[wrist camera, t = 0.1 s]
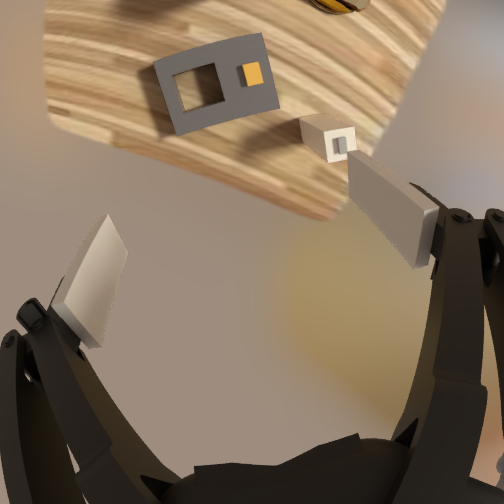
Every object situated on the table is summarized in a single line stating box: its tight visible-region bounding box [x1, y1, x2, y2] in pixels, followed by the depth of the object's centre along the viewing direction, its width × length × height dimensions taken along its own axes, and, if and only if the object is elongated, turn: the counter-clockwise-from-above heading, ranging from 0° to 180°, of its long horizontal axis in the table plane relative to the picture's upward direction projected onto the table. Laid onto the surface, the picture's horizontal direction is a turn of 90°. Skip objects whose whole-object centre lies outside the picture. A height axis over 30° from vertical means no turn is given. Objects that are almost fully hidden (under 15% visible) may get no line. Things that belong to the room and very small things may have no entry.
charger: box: [298, 113, 356, 163], centre depth 34 cm, size 4×4×11 cm
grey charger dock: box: [153, 33, 280, 136], centre depth 31 cm, size 11×14×4 cm
